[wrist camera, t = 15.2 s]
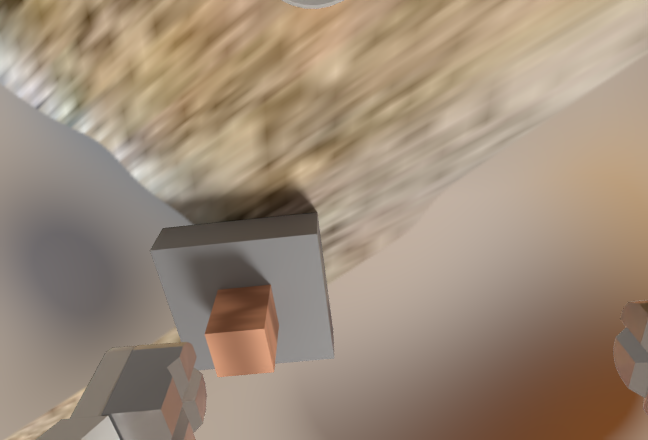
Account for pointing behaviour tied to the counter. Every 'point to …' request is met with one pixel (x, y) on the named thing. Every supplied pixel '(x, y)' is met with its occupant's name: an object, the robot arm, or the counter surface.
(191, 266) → the base slab
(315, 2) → the canned food
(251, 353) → the terracotta block
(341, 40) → the counter surface
